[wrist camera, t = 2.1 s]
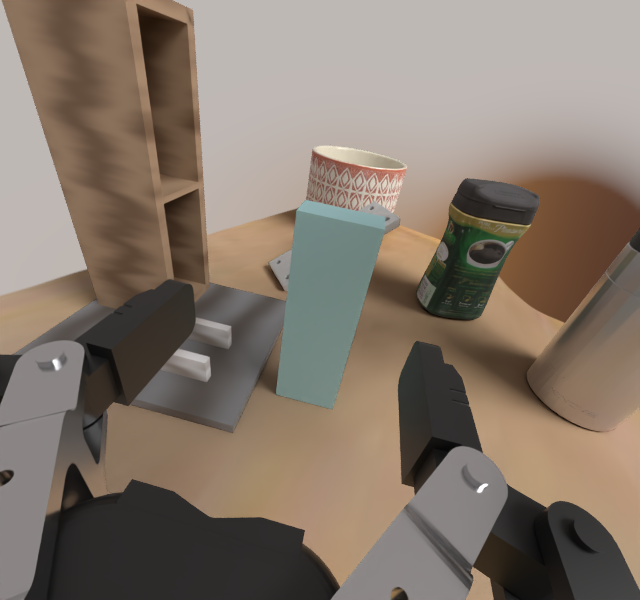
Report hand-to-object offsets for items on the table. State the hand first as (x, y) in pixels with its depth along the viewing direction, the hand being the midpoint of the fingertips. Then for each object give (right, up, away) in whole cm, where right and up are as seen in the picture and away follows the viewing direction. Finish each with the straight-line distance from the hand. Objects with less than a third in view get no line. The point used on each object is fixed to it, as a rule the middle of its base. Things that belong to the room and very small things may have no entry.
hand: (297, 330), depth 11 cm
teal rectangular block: (0, -8, +19) cm, 21 cm away
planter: (+7, +18, +59) cm, 62 cm away
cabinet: (-15, -3, +23) cm, 27 cm away
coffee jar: (+20, 0, +37) cm, 42 cm away
